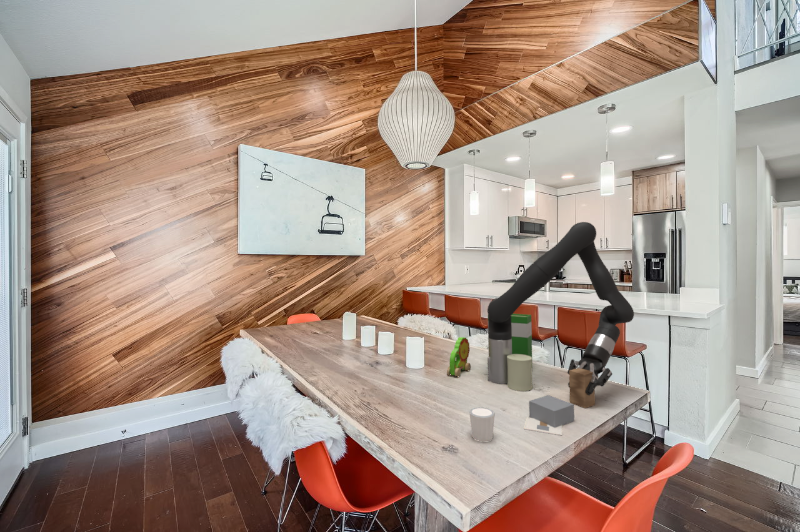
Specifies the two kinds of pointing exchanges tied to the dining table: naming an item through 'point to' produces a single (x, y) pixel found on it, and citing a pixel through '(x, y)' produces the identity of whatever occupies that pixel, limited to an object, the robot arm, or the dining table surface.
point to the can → (519, 372)
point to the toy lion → (459, 357)
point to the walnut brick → (580, 388)
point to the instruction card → (541, 427)
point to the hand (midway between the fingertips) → (578, 390)
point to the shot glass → (482, 423)
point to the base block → (551, 411)
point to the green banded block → (521, 334)
